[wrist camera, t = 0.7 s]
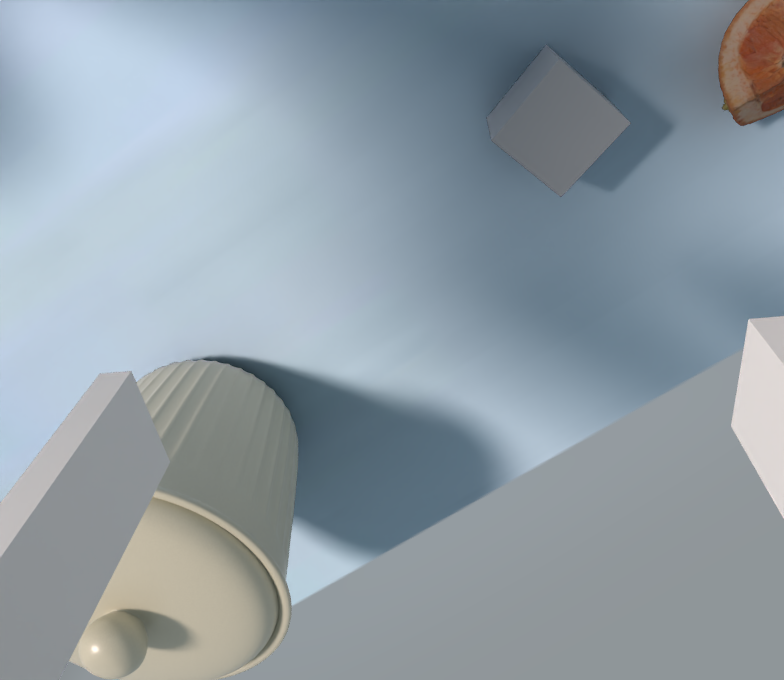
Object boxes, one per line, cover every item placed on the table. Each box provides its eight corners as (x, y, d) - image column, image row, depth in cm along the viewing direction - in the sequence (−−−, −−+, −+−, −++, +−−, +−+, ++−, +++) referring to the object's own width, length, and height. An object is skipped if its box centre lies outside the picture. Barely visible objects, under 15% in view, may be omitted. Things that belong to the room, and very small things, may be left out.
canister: (66, 334, 49) (-149, 567, 31) (300, 306, 46) (211, 543, 29) (153, 506, 58) (26, 761, 41) (352, 491, 56) (308, 756, 38)
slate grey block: (486, 117, 39) (491, 140, 34) (546, 44, 36) (559, 59, 32) (548, 168, 40) (560, 197, 36) (610, 101, 38) (630, 123, 34)
